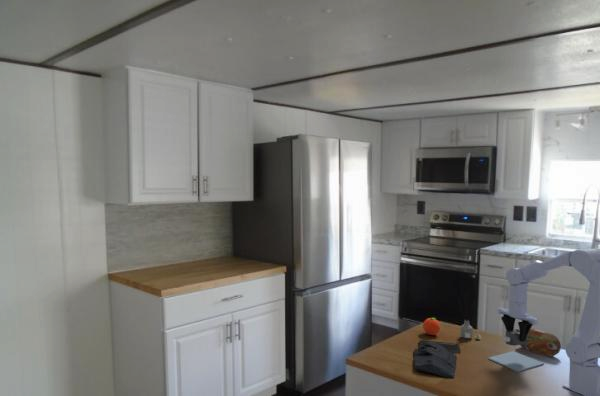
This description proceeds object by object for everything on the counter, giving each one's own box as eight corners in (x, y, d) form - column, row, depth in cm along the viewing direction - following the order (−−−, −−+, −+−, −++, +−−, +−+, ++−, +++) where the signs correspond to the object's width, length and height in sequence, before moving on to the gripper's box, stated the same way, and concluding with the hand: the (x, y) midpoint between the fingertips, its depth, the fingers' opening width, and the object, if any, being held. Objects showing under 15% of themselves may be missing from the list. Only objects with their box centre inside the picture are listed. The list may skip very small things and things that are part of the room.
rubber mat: (543, 364, 152) (543, 363, 152) (518, 372, 146) (518, 370, 145) (513, 352, 163) (513, 351, 163) (488, 358, 156) (488, 357, 156)
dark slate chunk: (407, 373, 145) (407, 359, 144) (415, 349, 165) (415, 337, 165) (455, 381, 139) (456, 367, 139) (457, 356, 159) (457, 343, 159)
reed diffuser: (456, 339, 175) (457, 291, 175) (452, 333, 182) (454, 287, 182) (482, 341, 174) (484, 292, 173) (478, 335, 181) (479, 288, 180)
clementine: (428, 330, 186) (429, 313, 186) (443, 334, 181) (444, 317, 181) (419, 334, 180) (420, 317, 180) (435, 338, 176) (435, 321, 175)
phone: (419, 339, 172) (458, 344, 168) (419, 342, 172) (458, 346, 168) (419, 346, 165) (460, 351, 161) (419, 349, 165) (460, 354, 161)
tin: (516, 347, 168) (517, 325, 168) (520, 345, 170) (521, 324, 170) (557, 360, 156) (558, 337, 156) (561, 358, 158) (562, 335, 158)
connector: (529, 343, 153) (530, 332, 153) (508, 346, 150) (508, 335, 150) (520, 339, 157) (521, 328, 157) (499, 342, 154) (500, 331, 154)
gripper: (544, 305, 149) (542, 343, 149) (507, 295, 162) (505, 330, 162) (531, 307, 145) (529, 347, 146) (494, 297, 158) (493, 333, 159)
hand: (516, 338), depth 154 cm, fingers closed on connector, 4 cm apart
